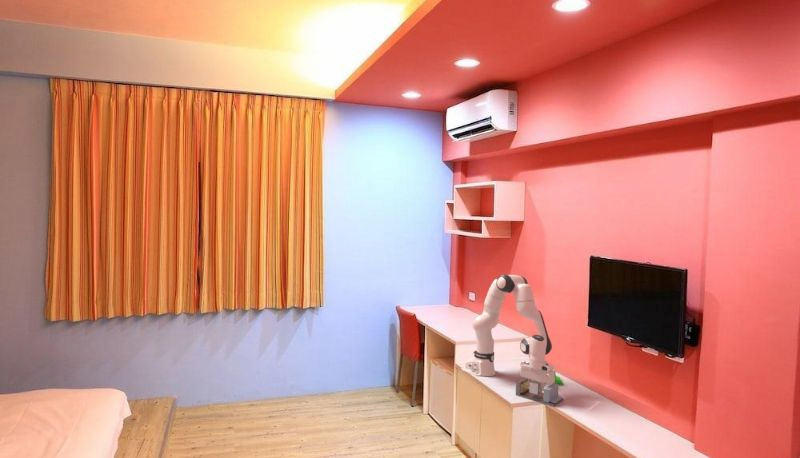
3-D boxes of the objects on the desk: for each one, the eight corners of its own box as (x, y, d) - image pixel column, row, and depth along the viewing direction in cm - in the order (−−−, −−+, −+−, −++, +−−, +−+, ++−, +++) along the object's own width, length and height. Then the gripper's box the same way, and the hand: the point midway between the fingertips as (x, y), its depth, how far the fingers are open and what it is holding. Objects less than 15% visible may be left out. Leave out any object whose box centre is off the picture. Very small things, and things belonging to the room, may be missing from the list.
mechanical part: (562, 385, 304) (562, 372, 303) (551, 384, 305) (552, 372, 305) (559, 379, 316) (559, 366, 315) (549, 378, 317) (550, 366, 316)
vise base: (515, 395, 285) (516, 381, 284) (526, 389, 294) (526, 376, 294) (553, 406, 270) (554, 391, 269) (563, 400, 279) (563, 385, 279)
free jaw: (542, 400, 274) (543, 388, 274) (552, 394, 283) (552, 382, 283) (554, 404, 270) (554, 391, 269) (563, 397, 279) (563, 385, 279)
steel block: (529, 392, 282) (529, 382, 282) (535, 388, 288) (535, 378, 288) (537, 394, 279) (537, 384, 278) (543, 390, 285) (543, 380, 284)
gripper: (518, 361, 287) (517, 384, 288) (551, 369, 274) (551, 393, 274) (523, 359, 292) (522, 382, 292) (556, 366, 279) (555, 390, 279)
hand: (536, 388), depth 283 cm, fingers closed on steel block, 5 cm apart
